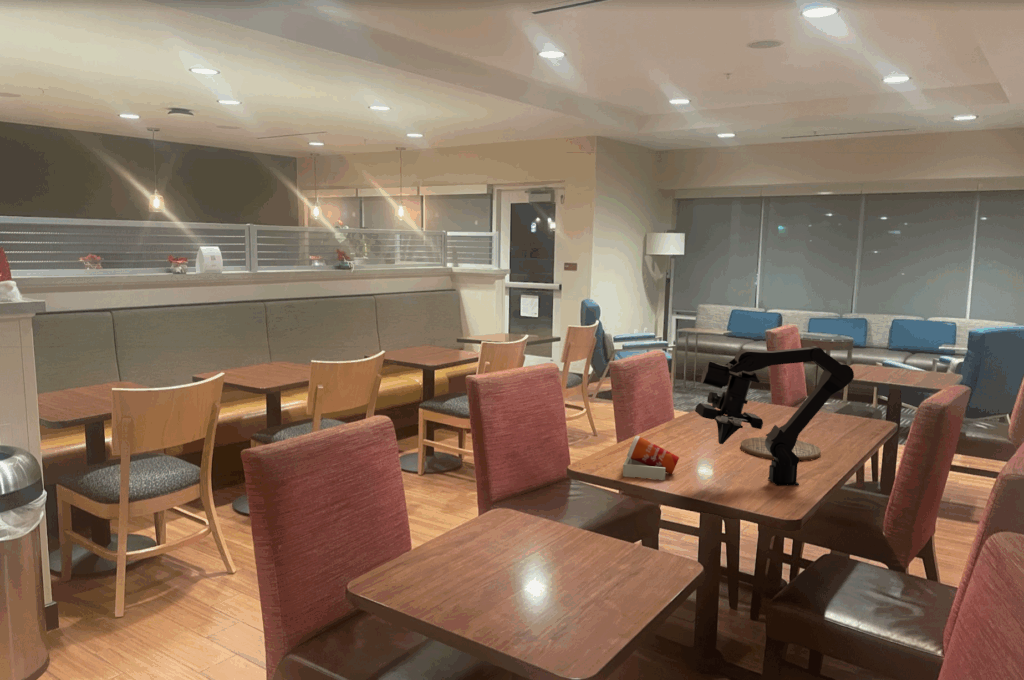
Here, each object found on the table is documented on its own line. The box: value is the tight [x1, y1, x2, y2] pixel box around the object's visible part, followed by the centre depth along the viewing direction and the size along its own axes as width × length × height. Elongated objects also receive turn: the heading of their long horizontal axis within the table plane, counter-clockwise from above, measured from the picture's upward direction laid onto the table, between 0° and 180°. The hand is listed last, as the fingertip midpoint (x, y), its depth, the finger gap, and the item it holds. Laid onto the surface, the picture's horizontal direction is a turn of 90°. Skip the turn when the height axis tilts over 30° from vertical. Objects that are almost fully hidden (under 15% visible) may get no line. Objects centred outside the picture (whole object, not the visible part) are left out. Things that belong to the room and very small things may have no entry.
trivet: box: [740, 436, 822, 462], centre depth 235 cm, size 25×25×2 cm
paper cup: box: [626, 435, 680, 475], centre depth 209 cm, size 8×8×14 cm
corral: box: [622, 456, 666, 481], centre depth 209 cm, size 12×13×4 cm
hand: (720, 443), depth 203 cm, fingers closed
